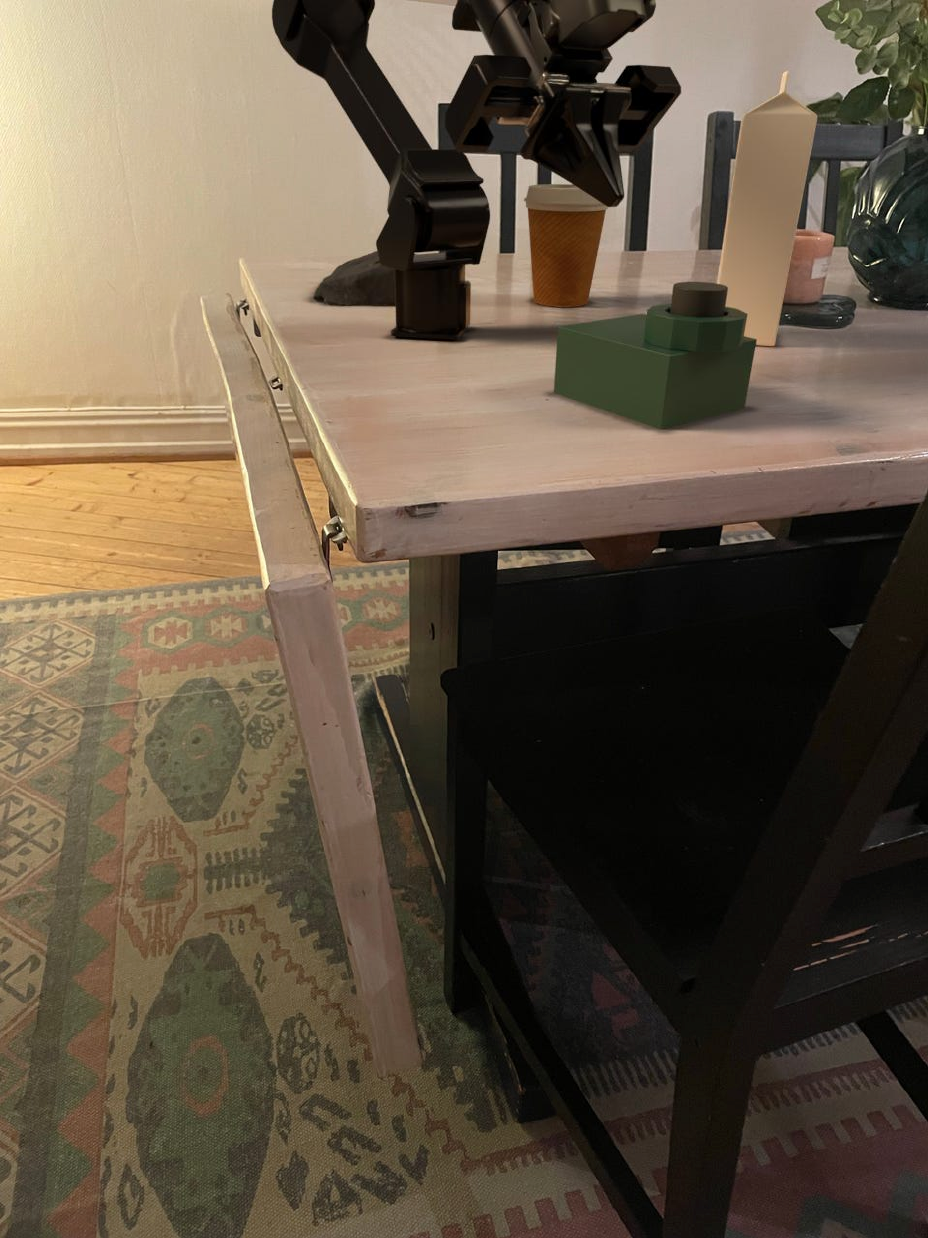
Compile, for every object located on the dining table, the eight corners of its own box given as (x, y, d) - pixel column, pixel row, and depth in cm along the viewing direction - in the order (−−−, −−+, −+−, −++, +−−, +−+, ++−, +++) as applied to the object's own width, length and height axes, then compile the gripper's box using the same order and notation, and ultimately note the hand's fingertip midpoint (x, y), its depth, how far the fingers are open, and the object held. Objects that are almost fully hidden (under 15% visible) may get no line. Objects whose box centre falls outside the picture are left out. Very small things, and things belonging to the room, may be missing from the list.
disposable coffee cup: (615, 300, 101) (625, 186, 95) (579, 312, 94) (588, 190, 88) (543, 292, 105) (549, 182, 99) (504, 303, 98) (508, 186, 92)
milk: (709, 343, 82) (748, 70, 71) (709, 330, 87) (746, 73, 76) (776, 347, 81) (826, 69, 70) (772, 333, 86) (818, 72, 75)
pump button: (658, 315, 59) (662, 284, 58) (693, 310, 61) (697, 279, 60) (699, 324, 57) (704, 292, 56) (734, 318, 59) (739, 287, 58)
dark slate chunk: (444, 275, 116) (444, 237, 113) (446, 306, 97) (446, 260, 94) (330, 274, 115) (327, 236, 113) (309, 305, 96) (306, 259, 94)
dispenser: (553, 393, 66) (559, 297, 63) (635, 376, 71) (645, 286, 67) (674, 435, 58) (690, 327, 54) (758, 412, 62) (777, 312, 59)
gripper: (471, -105, 52) (583, 106, 50) (679, -66, 62) (780, 112, 60) (403, 56, 61) (495, 240, 59) (593, 68, 71) (677, 226, 69)
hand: (617, 202), depth 62 cm, fingers closed
